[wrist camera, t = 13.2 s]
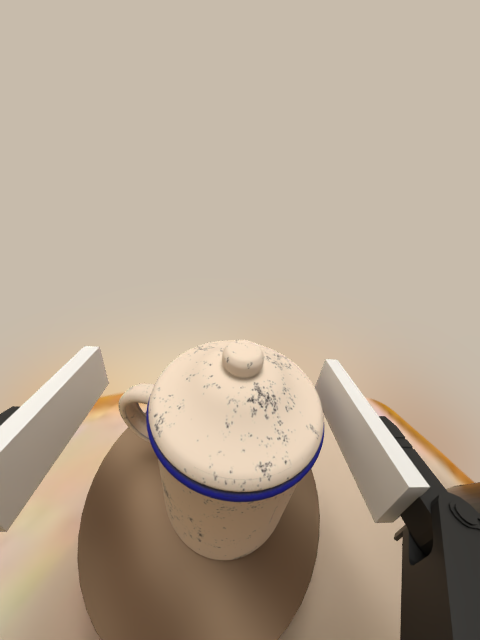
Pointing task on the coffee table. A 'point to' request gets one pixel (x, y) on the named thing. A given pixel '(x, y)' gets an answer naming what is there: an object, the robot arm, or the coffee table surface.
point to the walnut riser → (184, 561)
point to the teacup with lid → (228, 441)
